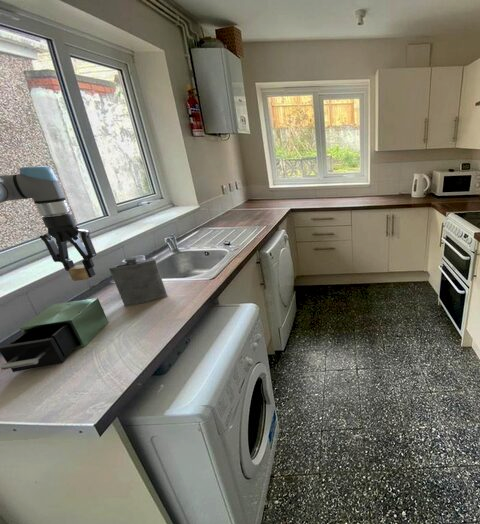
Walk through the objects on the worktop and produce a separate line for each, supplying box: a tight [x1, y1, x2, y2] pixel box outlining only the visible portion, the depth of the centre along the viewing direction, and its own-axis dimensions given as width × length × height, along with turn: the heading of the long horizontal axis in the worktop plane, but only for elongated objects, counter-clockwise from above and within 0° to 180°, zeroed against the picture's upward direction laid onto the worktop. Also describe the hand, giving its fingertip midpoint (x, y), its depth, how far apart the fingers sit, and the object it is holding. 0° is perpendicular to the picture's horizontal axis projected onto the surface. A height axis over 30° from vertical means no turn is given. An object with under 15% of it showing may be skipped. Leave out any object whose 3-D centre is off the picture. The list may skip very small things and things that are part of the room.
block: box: [68, 263, 92, 282], centre depth 105 cm, size 4×4×4 cm
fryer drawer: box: [0, 323, 80, 373], centre depth 80 cm, size 17×11×8 cm
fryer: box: [19, 297, 109, 350], centre depth 89 cm, size 14×13×10 cm
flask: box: [108, 256, 168, 307], centre depth 108 cm, size 4×14×18 cm, turn 116°
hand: (84, 276), depth 105 cm, fingers closed on block, 4 cm apart
